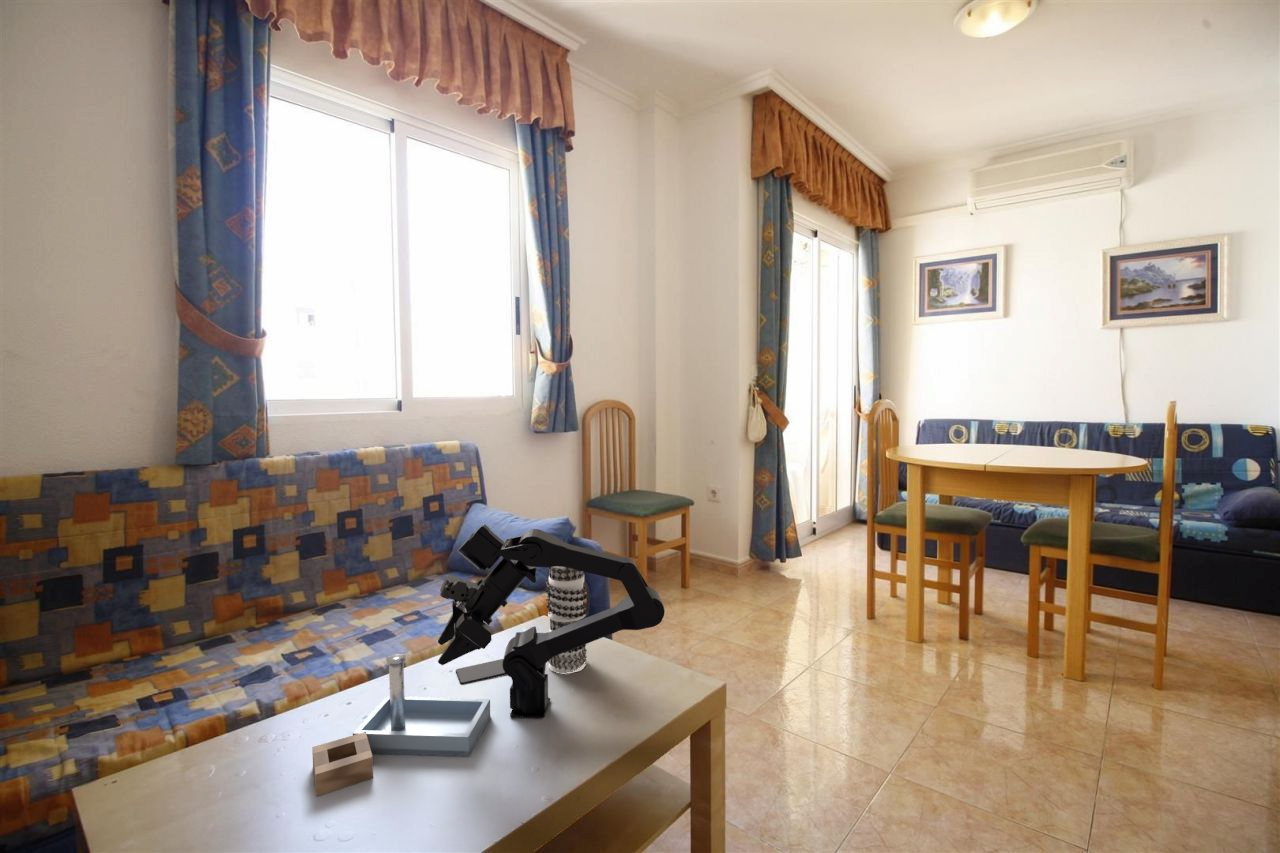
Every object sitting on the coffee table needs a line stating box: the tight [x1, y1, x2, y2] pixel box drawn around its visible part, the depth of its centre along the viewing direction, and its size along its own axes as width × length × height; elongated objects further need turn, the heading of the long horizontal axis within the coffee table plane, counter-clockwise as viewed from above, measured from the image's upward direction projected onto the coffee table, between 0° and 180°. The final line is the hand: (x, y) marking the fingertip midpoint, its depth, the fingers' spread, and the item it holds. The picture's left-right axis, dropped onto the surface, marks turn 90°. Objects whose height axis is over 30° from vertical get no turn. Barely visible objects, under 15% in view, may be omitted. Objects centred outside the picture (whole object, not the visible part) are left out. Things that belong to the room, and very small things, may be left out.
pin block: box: [311, 732, 374, 797], centre depth 95 cm, size 8×8×4 cm
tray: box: [352, 695, 491, 758], centre depth 105 cm, size 20×12×4 cm, turn 87°
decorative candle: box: [545, 566, 588, 673], centre depth 131 cm, size 9×9×25 cm
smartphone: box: [455, 658, 508, 685], centre depth 129 cm, size 7×1×15 cm
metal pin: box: [385, 653, 407, 731], centre depth 105 cm, size 3×3×13 cm
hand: (439, 653), depth 108 cm, fingers open, 9 cm apart
